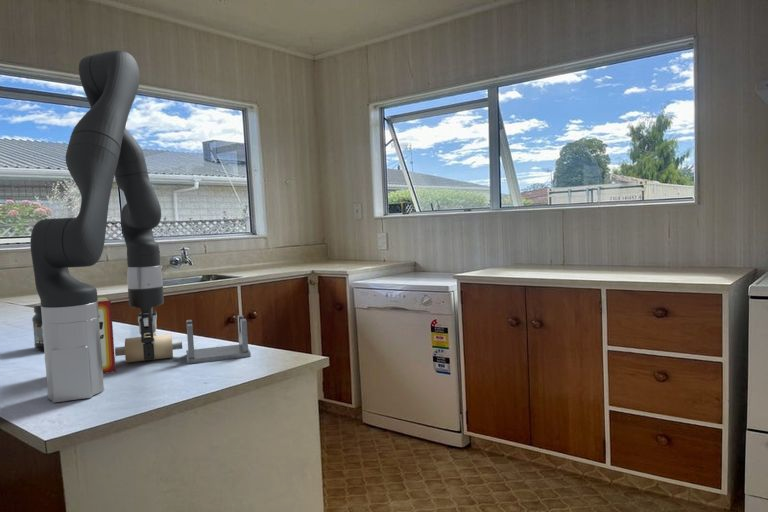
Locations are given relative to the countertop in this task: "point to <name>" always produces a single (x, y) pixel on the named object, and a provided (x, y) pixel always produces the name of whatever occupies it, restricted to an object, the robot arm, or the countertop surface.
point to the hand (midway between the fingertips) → (149, 356)
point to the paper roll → (161, 348)
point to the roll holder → (218, 352)
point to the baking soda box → (106, 334)
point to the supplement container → (38, 328)
